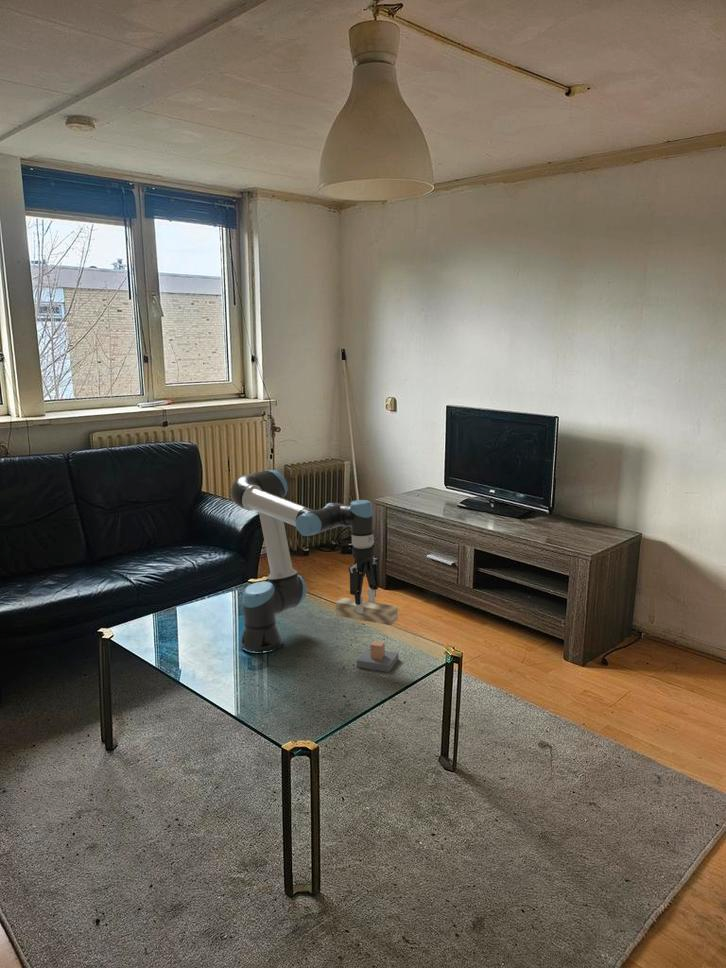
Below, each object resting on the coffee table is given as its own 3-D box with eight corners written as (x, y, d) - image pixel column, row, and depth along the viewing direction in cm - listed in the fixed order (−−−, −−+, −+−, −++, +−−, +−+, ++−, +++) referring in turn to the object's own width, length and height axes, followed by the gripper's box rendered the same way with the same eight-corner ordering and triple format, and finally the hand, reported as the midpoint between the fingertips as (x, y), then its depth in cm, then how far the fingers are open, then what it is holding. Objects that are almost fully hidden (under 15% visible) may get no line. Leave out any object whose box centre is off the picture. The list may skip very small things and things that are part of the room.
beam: (397, 620, 236) (397, 606, 235) (391, 625, 232) (390, 611, 231) (343, 610, 247) (342, 597, 246) (336, 615, 243) (335, 602, 242)
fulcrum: (356, 666, 239) (356, 646, 238) (367, 654, 248) (366, 635, 247) (389, 672, 235) (388, 651, 233) (398, 659, 244) (398, 639, 242)
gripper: (353, 554, 225) (356, 620, 229) (388, 540, 239) (391, 603, 243) (336, 550, 230) (340, 615, 234) (372, 537, 244) (374, 599, 248)
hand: (366, 609), depth 239 cm, fingers closed on beam, 6 cm apart
